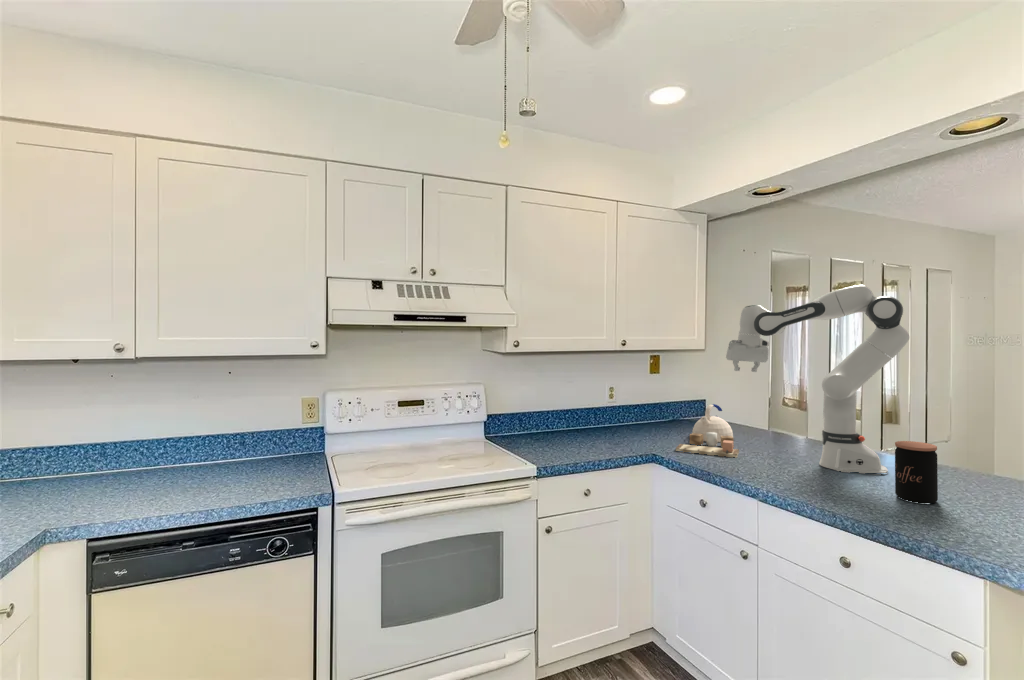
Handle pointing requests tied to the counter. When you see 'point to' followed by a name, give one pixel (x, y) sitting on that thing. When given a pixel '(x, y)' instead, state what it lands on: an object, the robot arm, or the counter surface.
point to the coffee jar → (916, 471)
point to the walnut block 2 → (726, 439)
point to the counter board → (707, 450)
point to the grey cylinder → (711, 439)
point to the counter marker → (728, 446)
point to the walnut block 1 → (696, 439)
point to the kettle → (712, 425)
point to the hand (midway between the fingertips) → (745, 371)
